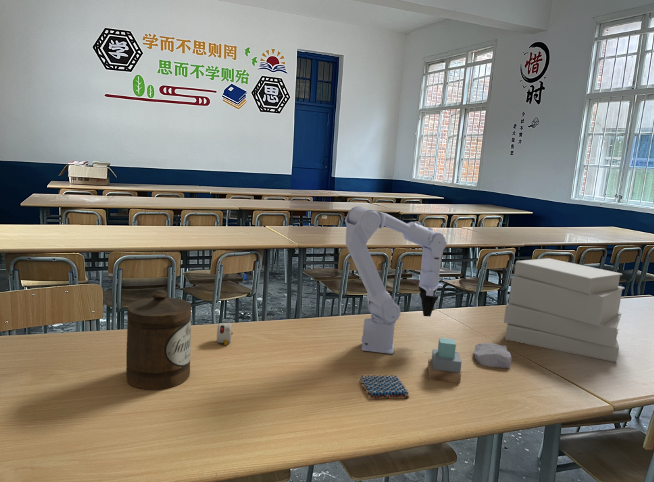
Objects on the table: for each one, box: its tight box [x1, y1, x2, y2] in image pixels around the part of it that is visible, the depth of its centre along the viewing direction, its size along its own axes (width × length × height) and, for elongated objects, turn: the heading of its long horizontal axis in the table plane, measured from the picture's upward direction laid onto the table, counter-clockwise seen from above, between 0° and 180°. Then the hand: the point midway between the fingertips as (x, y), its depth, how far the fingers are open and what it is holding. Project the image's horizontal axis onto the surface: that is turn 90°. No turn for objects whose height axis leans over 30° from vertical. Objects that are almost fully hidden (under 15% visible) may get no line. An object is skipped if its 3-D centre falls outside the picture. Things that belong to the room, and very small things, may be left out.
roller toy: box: [216, 322, 234, 346], centre depth 143 cm, size 4×6×6 cm
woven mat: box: [359, 374, 410, 400], centre depth 120 cm, size 10×11×2 cm
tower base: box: [427, 358, 462, 384], centre depth 131 cm, size 8×8×3 cm
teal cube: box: [437, 337, 457, 359], centre depth 130 cm, size 4×4×4 cm
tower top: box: [431, 348, 462, 373], centre depth 130 cm, size 7×7×3 cm
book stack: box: [503, 257, 625, 363], centre depth 162 cm, size 30×35×26 cm
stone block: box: [473, 342, 512, 369], centre depth 144 cm, size 12×5×10 cm
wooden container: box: [125, 289, 192, 391], centre depth 117 cm, size 15×15×22 cm
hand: (426, 312), depth 151 cm, fingers open, 7 cm apart
